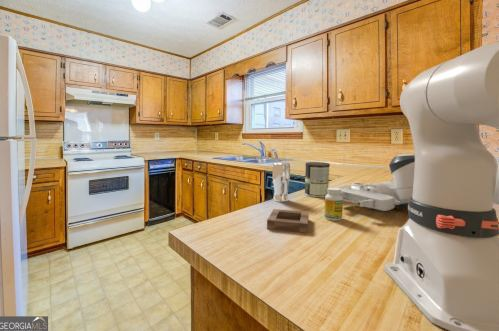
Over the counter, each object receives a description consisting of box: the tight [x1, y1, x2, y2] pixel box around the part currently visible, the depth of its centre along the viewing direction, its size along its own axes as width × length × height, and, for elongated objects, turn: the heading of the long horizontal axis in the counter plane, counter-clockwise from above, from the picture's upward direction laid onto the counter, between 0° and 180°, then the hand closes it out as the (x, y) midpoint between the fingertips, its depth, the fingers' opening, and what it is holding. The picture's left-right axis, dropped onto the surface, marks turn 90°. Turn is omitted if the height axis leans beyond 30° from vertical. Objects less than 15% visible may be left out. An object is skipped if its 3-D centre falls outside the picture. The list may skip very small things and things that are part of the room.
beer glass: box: [272, 162, 291, 203], centre depth 100 cm, size 7×7×15 cm
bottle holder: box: [266, 208, 310, 234], centre depth 73 cm, size 11×11×2 cm
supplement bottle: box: [324, 187, 344, 222], centre depth 78 cm, size 5×5×10 cm
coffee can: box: [304, 161, 331, 198], centre depth 110 cm, size 10×10×14 cm
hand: (346, 200), depth 81 cm, fingers open, 8 cm apart
